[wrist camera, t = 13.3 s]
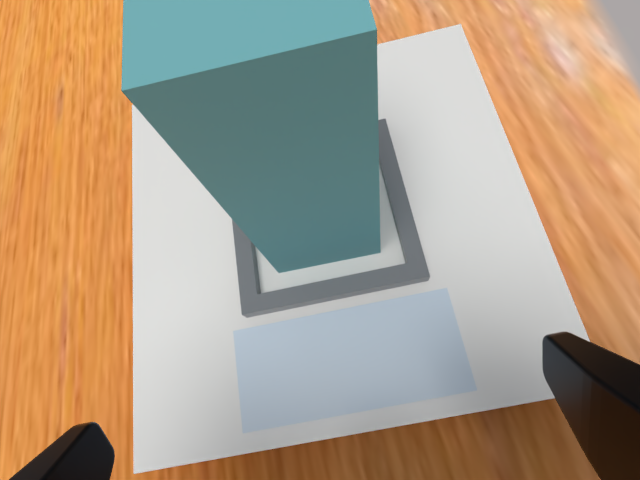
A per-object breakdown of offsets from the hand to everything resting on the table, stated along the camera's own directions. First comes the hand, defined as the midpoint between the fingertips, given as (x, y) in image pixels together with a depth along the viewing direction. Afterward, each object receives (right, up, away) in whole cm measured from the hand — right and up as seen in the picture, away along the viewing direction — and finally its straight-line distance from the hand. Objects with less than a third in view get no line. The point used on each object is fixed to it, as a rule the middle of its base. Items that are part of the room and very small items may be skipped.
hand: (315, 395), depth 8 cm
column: (0, +4, +13) cm, 13 cm away
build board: (0, +4, +13) cm, 14 cm away
